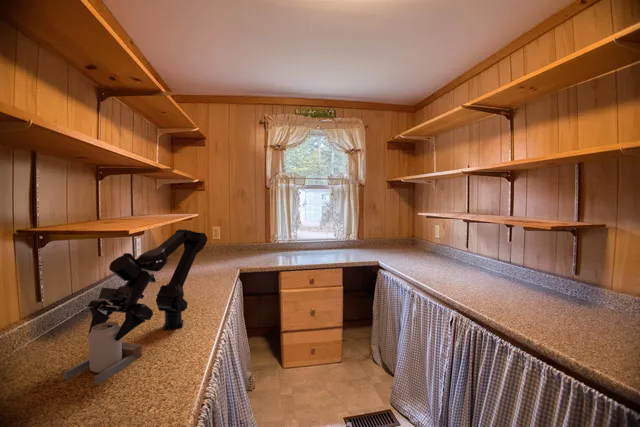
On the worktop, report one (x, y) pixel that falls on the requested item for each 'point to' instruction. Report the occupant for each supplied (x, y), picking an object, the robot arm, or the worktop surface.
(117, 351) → the can
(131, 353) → the stop block
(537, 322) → the worktop surface
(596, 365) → the worktop surface
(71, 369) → the guide rails
